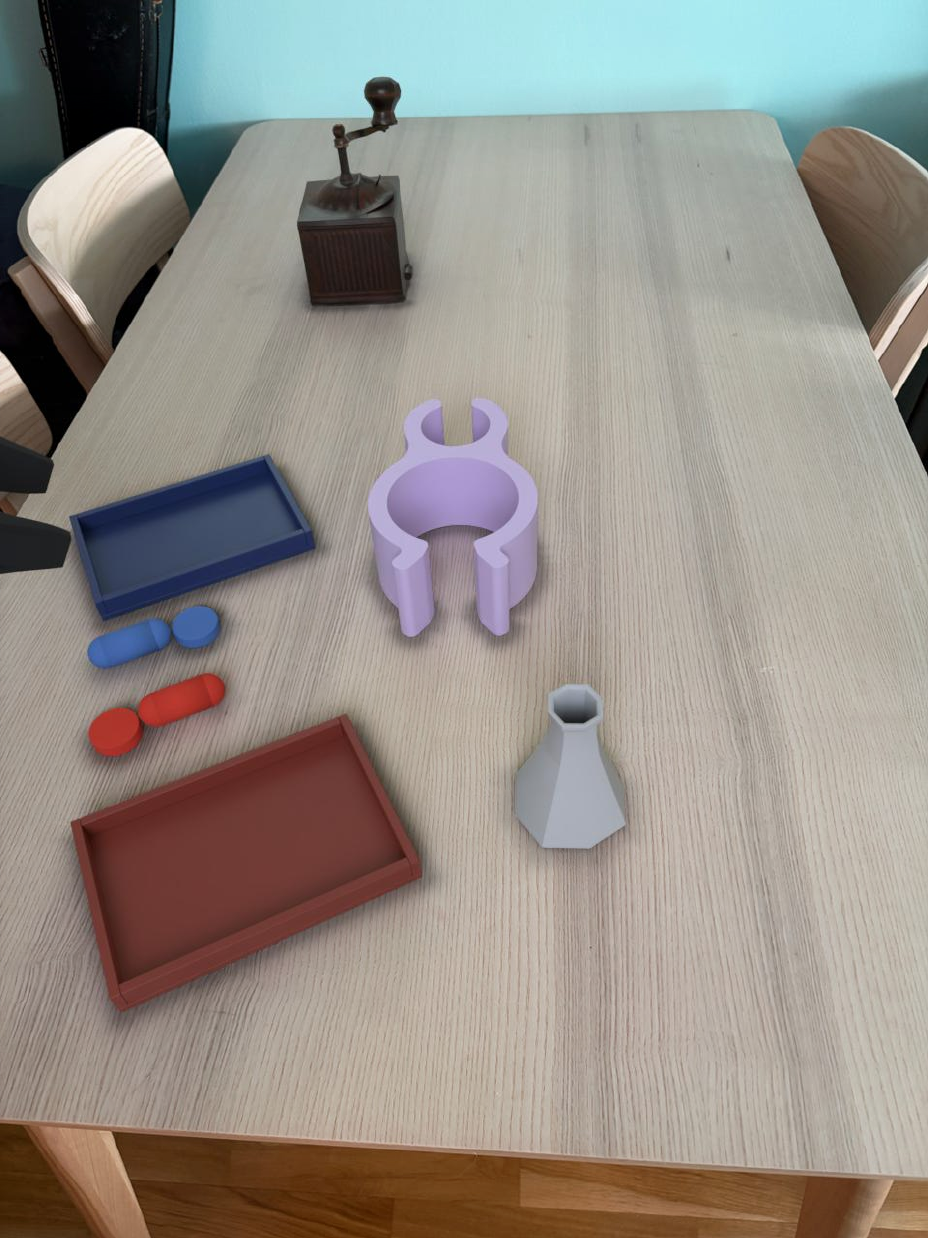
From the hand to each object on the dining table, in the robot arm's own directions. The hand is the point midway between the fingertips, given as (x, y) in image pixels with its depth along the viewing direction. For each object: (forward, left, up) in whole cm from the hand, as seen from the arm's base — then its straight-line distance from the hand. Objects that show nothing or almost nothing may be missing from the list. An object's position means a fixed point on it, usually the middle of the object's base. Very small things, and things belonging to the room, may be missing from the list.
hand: (57, 511), depth 56 cm
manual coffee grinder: (+36, +50, -18) cm, 65 cm away
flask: (+22, -21, -18) cm, 35 cm away
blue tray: (+7, +15, -18) cm, 24 cm away
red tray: (+3, -15, -18) cm, 23 cm away
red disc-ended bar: (0, -2, -18) cm, 18 cm away
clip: (+26, +4, -18) cm, 32 cm away
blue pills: (+2, +5, -18) cm, 18 cm away
